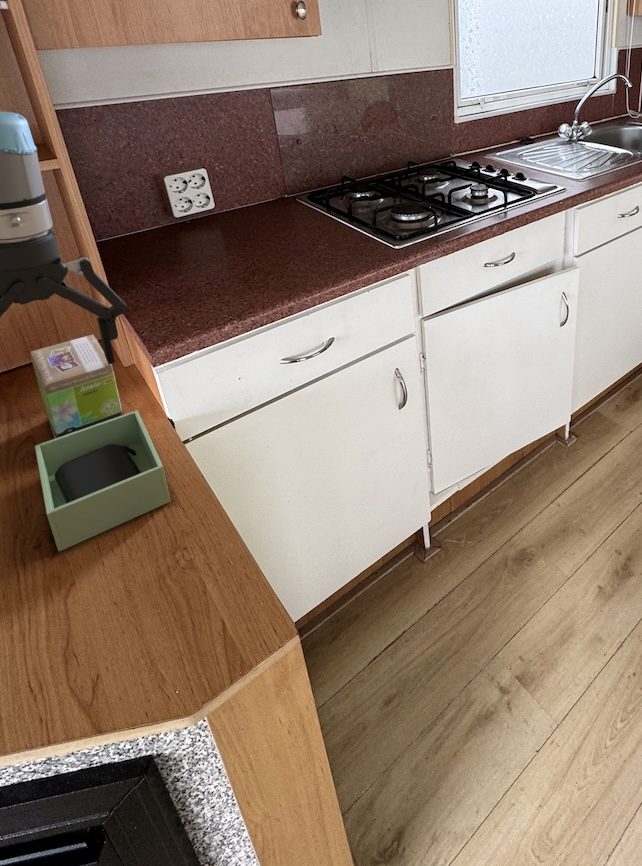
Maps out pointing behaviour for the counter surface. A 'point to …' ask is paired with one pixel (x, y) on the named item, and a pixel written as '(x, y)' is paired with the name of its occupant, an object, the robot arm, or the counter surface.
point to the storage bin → (108, 503)
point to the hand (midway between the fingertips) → (53, 375)
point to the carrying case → (95, 471)
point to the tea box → (76, 385)
